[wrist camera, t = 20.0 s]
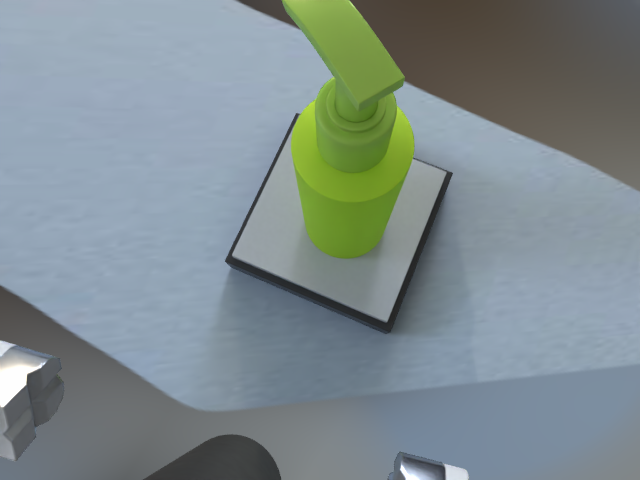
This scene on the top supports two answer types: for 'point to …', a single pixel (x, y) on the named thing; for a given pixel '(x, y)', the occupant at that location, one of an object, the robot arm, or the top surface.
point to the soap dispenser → (349, 132)
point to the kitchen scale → (330, 272)
